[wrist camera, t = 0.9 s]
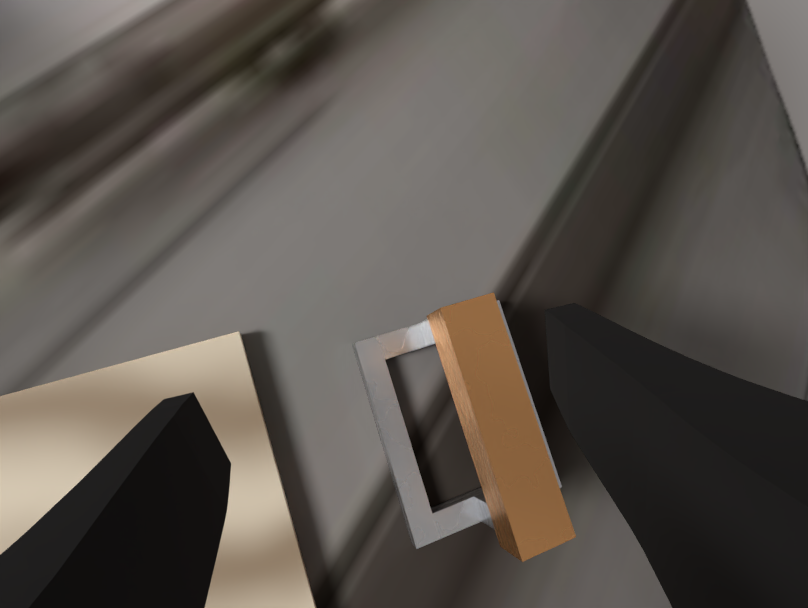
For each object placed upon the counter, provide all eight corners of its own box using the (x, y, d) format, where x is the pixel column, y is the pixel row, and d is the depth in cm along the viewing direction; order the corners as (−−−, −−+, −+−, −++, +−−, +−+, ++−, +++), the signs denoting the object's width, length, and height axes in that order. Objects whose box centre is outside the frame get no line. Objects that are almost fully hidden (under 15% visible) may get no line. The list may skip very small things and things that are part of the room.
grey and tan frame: (552, 483, 26) (634, 509, 20) (411, 542, 24) (454, 592, 18) (491, 303, 27) (551, 275, 21) (352, 345, 25) (373, 327, 19)
